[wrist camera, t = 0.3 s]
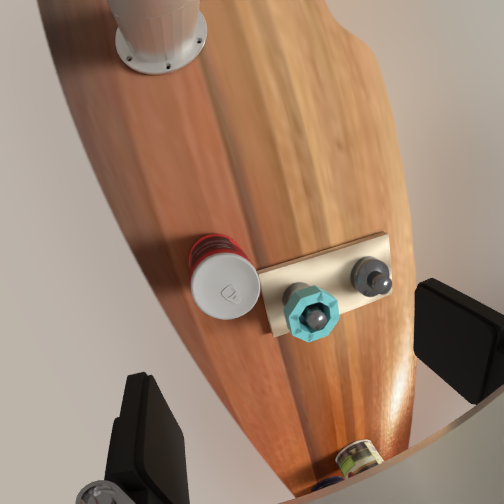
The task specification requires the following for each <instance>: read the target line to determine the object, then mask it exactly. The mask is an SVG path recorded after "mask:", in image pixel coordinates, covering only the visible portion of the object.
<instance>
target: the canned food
mask: <svg viewBox="0 0 504 504" xmlns="http://www.w3.org/2000/svg"><path fill="white" fill-rule="evenodd" d="M189 273H190V286H191V293H192V296H193V298H194V301H195V302H196V304H197V306H198V307H199V308H200V309H201V310H202V311H203V312H205V313H206V314H207V315H209V316H211V317H214V318H217V319H234V318H238V317H240V316H242V315H244V314H246V313H247V312H248V311H250V310H251V308H252V307H253V306H254V305H255V303H256V302H257V300H258V297H259V294H260V280H259V277H258V274H257V272H256V269H255V268H254V266H253V265H252V263H251V262H250V260H249V259H248V258H247V256H246V255H245V253H244V252H243V250H242V249H241V247H240V246H239V245H238V243H237V242H236V241H234V240H233V239H232V238H230V237H228V236H226V235H222V234H210V235H206V236H204V237H202V238H200V239H199V240H198V241H197V242H196V243H195V244H194V245H193V247H192V249H191V251H190V254H189Z"/></svg>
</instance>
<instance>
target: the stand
mask: <svg viewBox="0 0 504 504" xmlns="http://www.w3.org/2000/svg"><path fill="white" fill-rule="evenodd" d="M307 287H310V286H309V285H308V284H307V283H304V282H297V283H294V284H292V285H290V286H289V287H288V288H287V289H286V290H285V292H284V294H283V297H282V302H283V305H284V307H285V306H286V304H287V303H288V301H289V300H290V298H291V297H292V295H293V294H294V292H295V291H298V290H301V289H304V288H307ZM323 311H324V308H323V303H321V302H317V303H314V304H311V305H308V306H306V307H305V309H304V310H303V312H302V313H301V315H300V316H299V321H300V323H301V324H303V325H308V324H309V325H310V327H311V328H312V329H314V330H318V329H321V328H323V327H324V326H325V324H326V322H327V318H326V316H325V315H324V314H323Z"/></svg>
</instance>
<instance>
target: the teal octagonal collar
mask: <svg viewBox="0 0 504 504" xmlns="http://www.w3.org/2000/svg"><path fill="white" fill-rule="evenodd" d="M317 302H321V303H323V308H324V311H323V314H324V315H325V316H326V318H327V322H326V324H325V326H324V327H323V328H321V329H318V330H314V329H312V328H311V327H310V325H309V324H308V325H303V324H301V323H300V321H299V316H300V315H301V313H302V312H303V310H304V309H305V307H306V306H308V305H311V304H314V303H317ZM283 311H284V315H285V320H286V324H287V328H288V329H289V331H290V332H291V334H292V335H293V336H295V337H297V338H300V339H302V340H304V341H307V342H311V341H314V340H317V339H320V338H322V337H325V336H328V335H329V333H330V332H331V330H332V329H333V327H334V326H335V325H336V323H337V322H338V320H339V319H340V316H339V308H338V300H337V299H336V298H335V297H333V296H332V295H331V294H330V293H328V292H327V291H325V290H323V289H321V288H319V287H318V286H316V285H313V286H310V287H307V288H304V289H301V290H298V291H295V292H294V294H293V295H292V297H291V298H290V300H289V301H288V303H287V304H286V306H285V307H284V309H283Z"/></svg>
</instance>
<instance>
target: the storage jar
mask: <svg viewBox="0 0 504 504" xmlns="http://www.w3.org/2000/svg"><path fill="white" fill-rule="evenodd" d="M343 480H344V479H343V478H342V477H340V476H335V477H331V478H327V479H325V480H323V481H321V482H319V483H318V484H316V485H315V486H314V487H313V488H312V490H311V492H312V493H313V492H315V491H318V490H321V489H323V488H326V487H328V486H331V485H334V484H336V483H338V482H341V481H343Z"/></svg>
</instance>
